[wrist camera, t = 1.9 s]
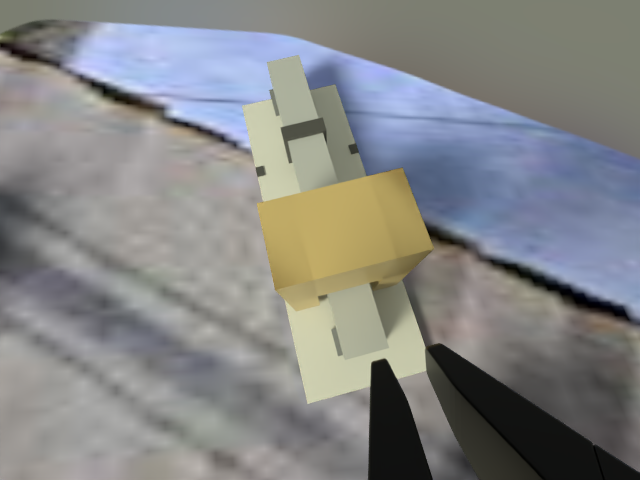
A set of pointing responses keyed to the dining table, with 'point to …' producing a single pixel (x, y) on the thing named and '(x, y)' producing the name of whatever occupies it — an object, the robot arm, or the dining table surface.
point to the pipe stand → (311, 173)
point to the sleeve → (343, 237)
